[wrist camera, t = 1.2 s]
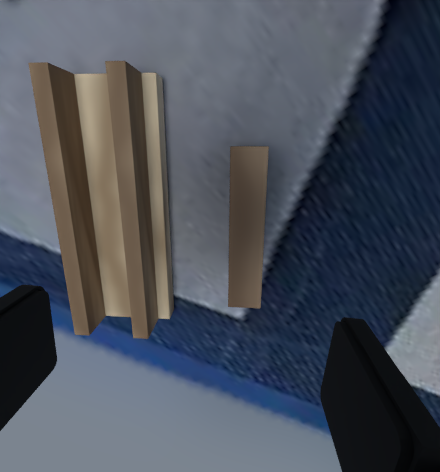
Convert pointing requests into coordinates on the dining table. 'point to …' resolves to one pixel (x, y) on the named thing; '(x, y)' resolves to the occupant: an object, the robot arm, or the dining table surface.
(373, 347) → the robot arm
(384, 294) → the dining table surface
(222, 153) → the dining table surface
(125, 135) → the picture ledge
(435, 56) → the dining table surface
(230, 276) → the walnut picture frame
